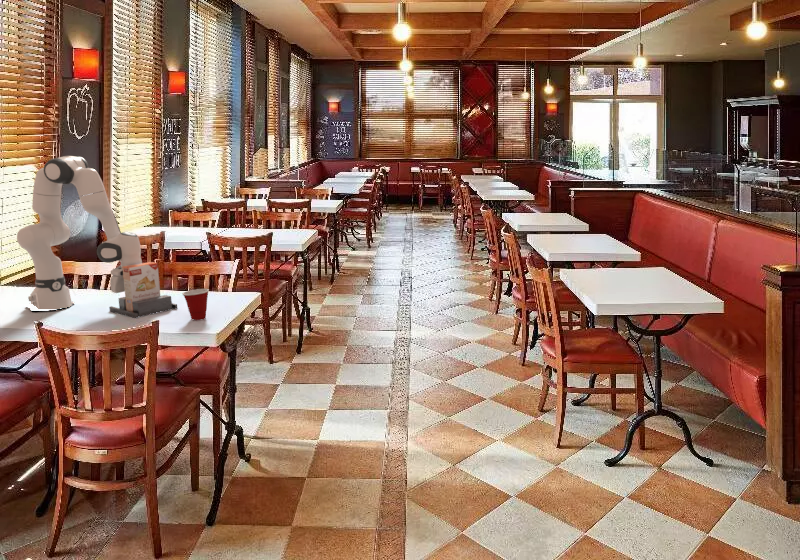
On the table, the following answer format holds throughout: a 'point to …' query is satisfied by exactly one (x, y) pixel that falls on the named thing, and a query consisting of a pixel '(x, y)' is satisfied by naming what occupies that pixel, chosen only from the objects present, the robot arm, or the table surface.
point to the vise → (147, 306)
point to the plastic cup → (197, 303)
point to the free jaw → (122, 303)
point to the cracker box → (140, 282)
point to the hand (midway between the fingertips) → (134, 299)
